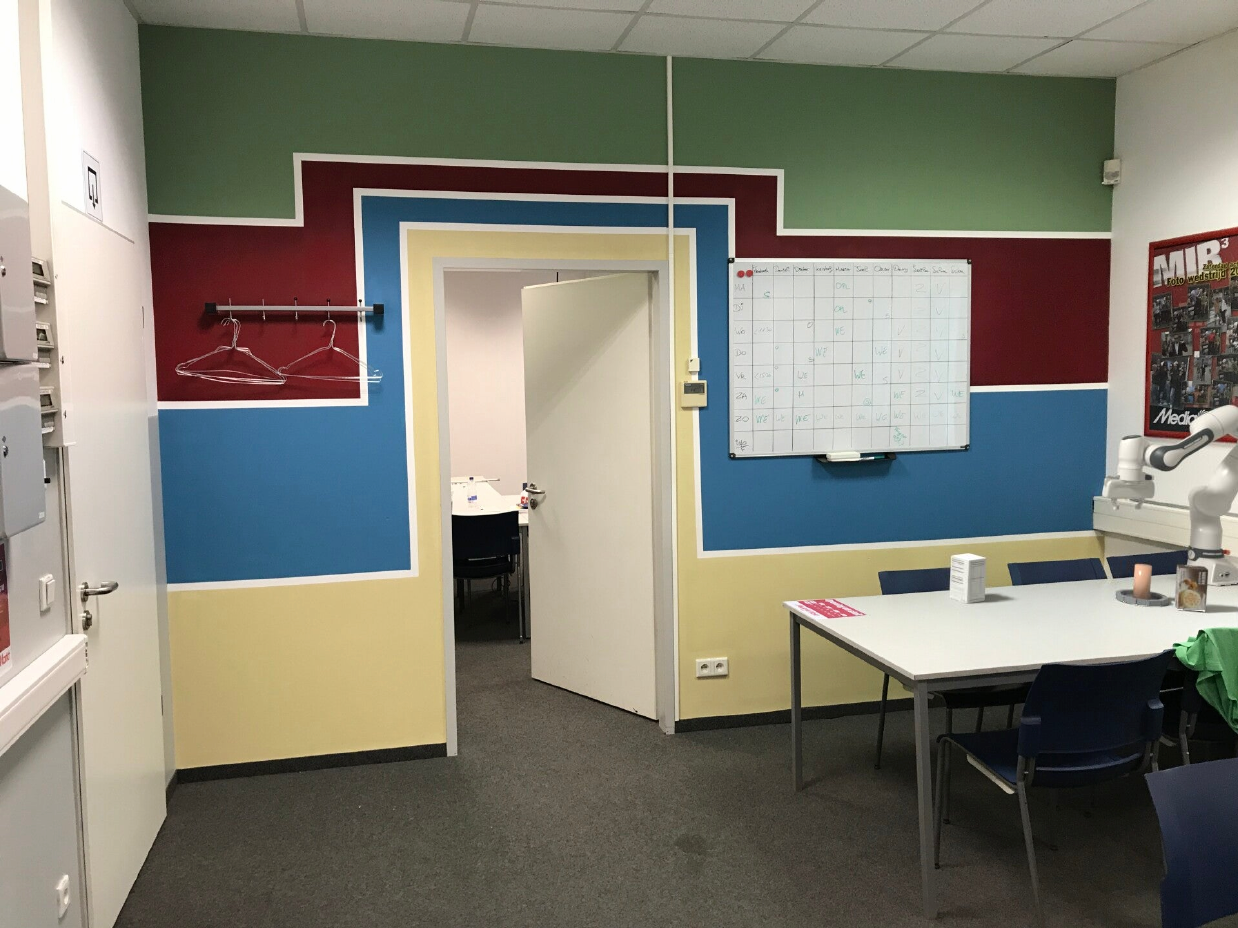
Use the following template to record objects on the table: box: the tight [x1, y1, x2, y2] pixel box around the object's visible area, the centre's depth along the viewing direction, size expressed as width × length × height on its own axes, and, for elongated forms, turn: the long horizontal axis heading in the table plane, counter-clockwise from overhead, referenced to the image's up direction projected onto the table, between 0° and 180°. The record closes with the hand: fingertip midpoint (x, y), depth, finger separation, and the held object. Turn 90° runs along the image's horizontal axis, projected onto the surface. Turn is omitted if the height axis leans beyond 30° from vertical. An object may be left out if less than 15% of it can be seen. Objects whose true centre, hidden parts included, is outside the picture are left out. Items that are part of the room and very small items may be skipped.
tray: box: [1115, 588, 1169, 607], centre depth 350 cm, size 17×17×2 cm
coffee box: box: [1174, 564, 1208, 610], centre depth 338 cm, size 9×6×16 cm
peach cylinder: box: [1133, 563, 1153, 600], centre depth 350 cm, size 6×6×13 cm
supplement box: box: [949, 552, 988, 604], centre depth 350 cm, size 10×9×17 cm
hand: (1127, 509), depth 371 cm, fingers open, 8 cm apart
